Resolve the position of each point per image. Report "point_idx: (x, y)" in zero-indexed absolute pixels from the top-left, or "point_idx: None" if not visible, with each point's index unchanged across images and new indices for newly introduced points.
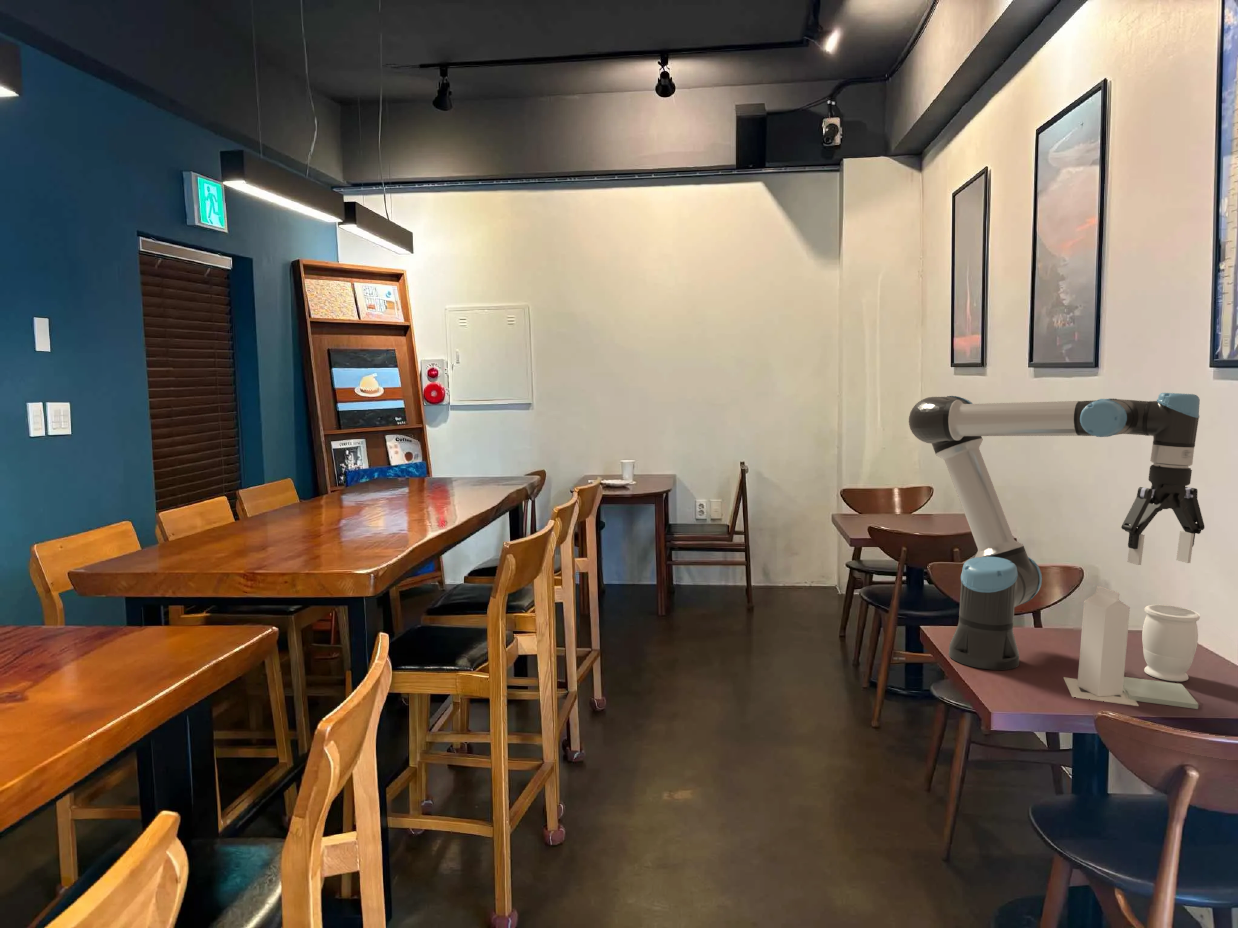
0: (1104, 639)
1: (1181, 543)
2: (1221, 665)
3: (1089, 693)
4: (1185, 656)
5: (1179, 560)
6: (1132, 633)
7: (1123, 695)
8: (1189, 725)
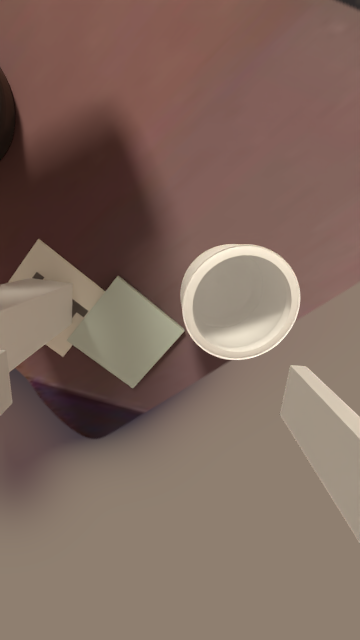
0: None
1: (334, 436)
2: (352, 276)
3: None
4: (212, 328)
5: (288, 379)
6: None
7: (72, 325)
8: (74, 414)
